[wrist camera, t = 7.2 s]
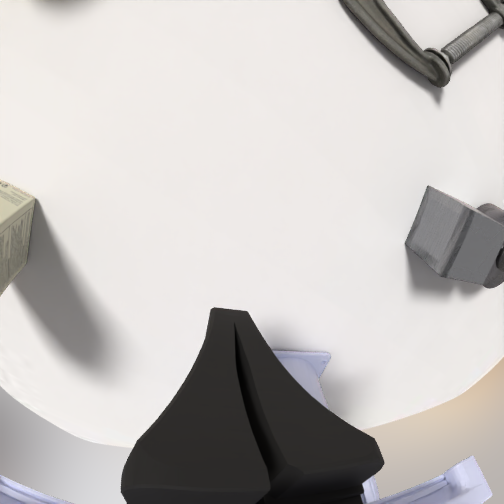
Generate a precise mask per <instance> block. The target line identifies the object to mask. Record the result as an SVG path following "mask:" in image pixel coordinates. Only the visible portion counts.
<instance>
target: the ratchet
mask: <svg viewBox="0 0 504 504" xmlns="http://www.w3.org/2000/svg"><path fill="white" fill-rule="evenodd" d="M477 210H479V211H481V212H482V213H484V214H486V215H487V216H489V217H491V218H492V219H494V220H495V221H497V222H499V223H500V224H502V225H503V226H504V210H502V209H500V208H499V207H497V206H495V205H493V204H489V203H488V204H484V205H482V206H480V207H478V208H477ZM502 282H504V242H503V244H502V246H501V248H500V251H499V253H498V255H497V257H496V259H495V261H494V263H493V265H492V267H491V269H490V271H489V273H488V275H487V277H486V279H485V281H484V283H483V286H484V287H486V288H494V287H497V286H498V285H500V284H501V283H502Z"/></svg>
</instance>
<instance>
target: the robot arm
mask: <svg viewBox="0 0 504 504" xmlns="http://www.w3.org/2000/svg"><path fill="white" fill-rule="evenodd" d="M330 358H331V356H330V354H329V353H327V352H295V351H275V350H271V348H270V347H269V346H268V344H267V343H266V341H265V340H264V338H263V337H262V335H261V333H260V332H259V330H258V328H257V327H256V325H255V323H254V322H253V320H252V318H251V317H250V315H249V313H248V312H247V311H241V310H232V309H223V308H215V307H214V308H212V309H211V311H210V316H209V321H208V326H207V332H206V337H205V340H204V343H203V346H202V348H201V350H200V352H199V354H198V357H197V359H196V361H195V363H194V365H193V367H192V369H191V371H190V372H189V374H188V376H187V378H186V379H185V381H184V383H183V384H182V386H181V387H180V389H179V390H178V392H177V393H176V395H175V396H174V398H173V399H172V401H171V402H170V403H169V405H168V406H167V407H166V408H165V410H164V411H163V412H162V414H161V415H160V416H159V417H158V419H157V420H156V421H155V422H154V423H153V424H152V425H151V427H150V428H149V429H148V430H147V431H146V432H145V433H144V434H143V435H142V436H141V437H140V438H139V439H138V440H137V442H136V444H135V446H134V448H133V450H132V452H131V453H130V455H129V457H128V459H127V461H126V464H125V466H124V469H123V472H122V478H121V493H122V495H123V497H124V499H125V500H126V502H127V504H482V503H484V502H485V501H486V500H488V499H489V498H490V497H491V496H492V492H491V490H490V488H489V486H488V484H487V482H486V480H485V478H484V476H483V474H482V472H481V470H480V468H479V466H478V464H477V462H476V460H475V458H474V456H470V457H468V458H466V459H464V460H463V461H461V462H459V463H457V464H455V465H454V466H453V467H451V468H450V469H448V470H447V471H446V472H445V473H444V474H442V475H440V476H438V477H436V478H433V479H431V480H429V481H426V482H424V483H422V484H419V485H417V486H415V487H412V488H410V489H407V490H404V491H402V492H399V493H396V494H393V495H391V496H388V497H385V498H382V499H380V498H379V492H378V487H377V484H376V480H375V477H374V475H375V474H376V473H377V472H378V471H379V470H381V468H382V467H383V465H384V460H383V457H382V454H381V452H380V449H379V447H378V445H377V442H376V441H375V439H374V438H373V437H371V436H369V435H367V434H366V433H364V432H362V431H360V430H358V429H357V428H355V427H353V426H351V425H350V424H348V423H347V422H345V421H344V420H342V419H341V418H339V417H338V416H336V415H335V414H334V413H332V412H331V411H330V410H329V407H328V405H327V402H326V399H325V396H324V393H323V390H322V387H321V385H320V382H319V378H320V376H321V374H322V372H323V371H324V369H325V367H326V365H327V364H328V362H329V360H330ZM0 504H74V503H70V502H67V501H64V500H61V499H58V498H55V497H52V496H49V495H47V494H44V493H41V492H39V491H36V490H33V489H31V488H29V487H26V486H24V485H22V484H19V483H17V482H15V481H13V480H11V479H8V478H6V477H4V476H2V475H0Z"/></svg>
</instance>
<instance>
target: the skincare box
mask: <svg viewBox="0 0 504 504" xmlns="http://www.w3.org/2000/svg"><path fill="white" fill-rule="evenodd" d="M34 204H35V197H33V196H31V195H29V194H28V193H26V192H24V191H22V190H20V189H18V188H16V187H14V186H12V185H10V184H8V183H6V182H4V181H2V180H0V296H1V295H2V293H3V292H4V291H5V289H6V288H7V287H8V285H9V284H10V283H11V282H12V280H13V279H14V278H15V277H16V276H17V274H18V273H19V272H20V271H21V269H22V268H23V267H24V266H25V265H26V262H27V255H28V247H29V239H30V232H31V225H32V218H33V211H34Z"/></svg>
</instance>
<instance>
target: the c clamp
mask: <svg viewBox="0 0 504 504" xmlns="http://www.w3.org/2000/svg"><path fill="white" fill-rule="evenodd" d="M482 1H483V3H484V4H485V5H486V6H487V7H488V9H489V13H490V14H489V15H488V16H486V17H485V18H483V19H482V20H481V21H479V22H478V23H477V24H475V25H474V26H472V27H471V28H469V29H468V30H466V31H465V32H464V33H462V34H461V35H460V36H458V37H457V38H455V39H454V40H453V41H451V42H450V43H449V44H447V45H446V46H445V47H444V48H442V49H441V51H439V50H437V49H435V48H427V49H425V50H424V51H423V50H422V49H421V48H420V47H419V46H418V45H417V44H416V42H415V41H414V40H413V39H412V38H411V36H410V35H409V34H408V32H407V31H406V30H405V29H404V27H403V26H402V24H401V23H400V22H399V21H398V19H397V18H396V17H395V16H394V14H393V13H392V12H391V11H390V9H389V8H388V7H387V6H386V4H385V2H384V1H383V0H343V2H344V3H345V4H346V6H347V7H348V8H349V9H350V10H351V11H352V13H353V14H354V15H355V16H356V17H357V18H358V19H359V20H360V22H361V23H362V24H363V25H364V26H365V27H366V28H367V29H368V30H369V31H370V32H371V33H372V34H373V35H374V36H375V37H376V38H377V39H378V40H379V41H380V42H381V43H382V44H383V45H384V46H385V47H387V48H388V49H389V50H390V51H391V52H392V53H394V54H395V55H396V56H397V57H399V58H400V59H401V60H403V61H404V62H405V63H406V64H408V65H409V66H411V67H412V68H414V69H415V70H417V71H418V72H420V73H421V74H423V75H425V76H426V77H428V79H429V81H430V82H431V83H432V84H433V85H435V86H437V87H439V88H441V87H444V86H446V85H447V84H448V83H449V81H450V76H451V73H452V67H451V64H453V63H454V62H456V61H457V60H458V59H460V57H462V56H463V55H464V54H466V53H467V52H468V51H469V50H471V49H472V48H473V47H474V46H476V45H477V44H478V43H480V42H481V41H482V40H483V39H485V38H486V37H487V36H488V35H490V34H491V33H492V32H493V31H495V30H496V29H497V28H498V27H499V28H502V29H504V0H501V1H502V2H503V4H502V3H501V2H500V0H482Z"/></svg>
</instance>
